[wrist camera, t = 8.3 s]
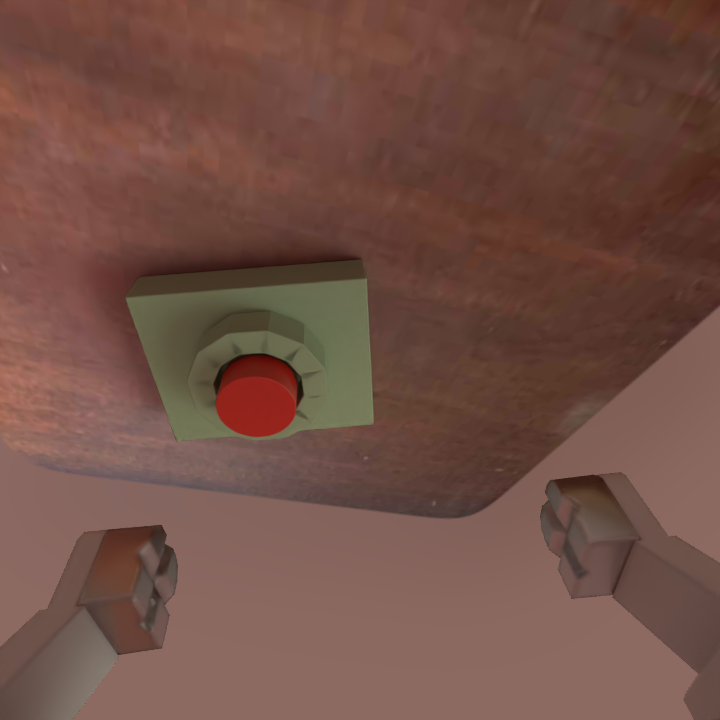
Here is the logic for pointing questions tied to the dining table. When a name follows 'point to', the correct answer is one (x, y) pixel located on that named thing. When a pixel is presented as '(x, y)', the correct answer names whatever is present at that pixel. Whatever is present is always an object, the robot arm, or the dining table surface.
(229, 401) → the button
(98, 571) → the robot arm
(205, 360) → the olive flat block
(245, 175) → the dining table surface
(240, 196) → the dining table surface
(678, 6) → the dining table surface
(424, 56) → the dining table surface
